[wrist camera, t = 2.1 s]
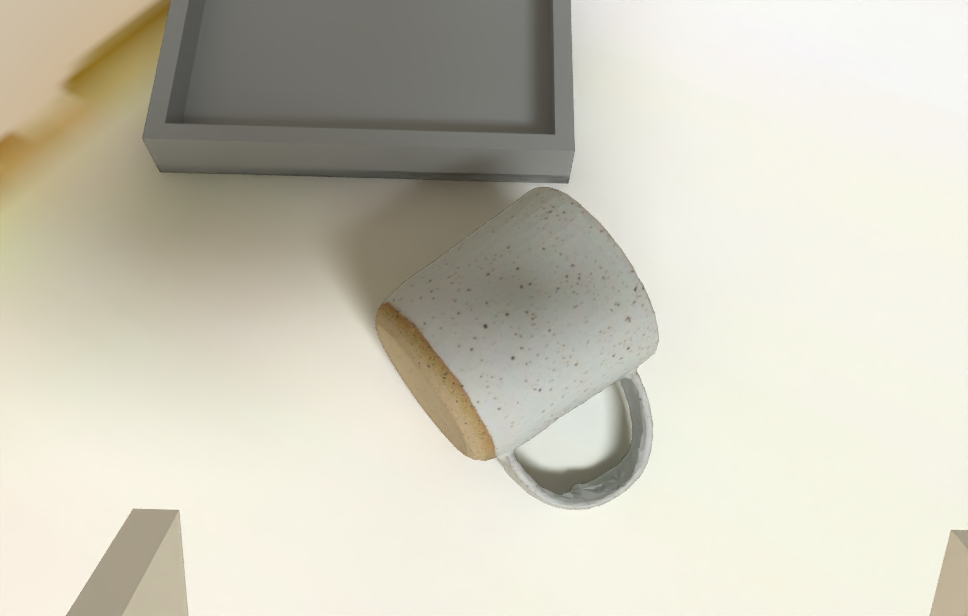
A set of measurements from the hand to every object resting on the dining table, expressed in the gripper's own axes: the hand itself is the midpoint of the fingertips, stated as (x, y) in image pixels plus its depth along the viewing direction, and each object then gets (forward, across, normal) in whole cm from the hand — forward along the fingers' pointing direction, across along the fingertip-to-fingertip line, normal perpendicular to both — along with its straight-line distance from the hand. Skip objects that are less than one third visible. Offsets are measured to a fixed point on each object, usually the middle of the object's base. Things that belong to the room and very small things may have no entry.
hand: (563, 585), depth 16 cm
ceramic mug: (+21, +1, -6) cm, 21 cm away
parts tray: (+33, -6, +8) cm, 35 cm away
